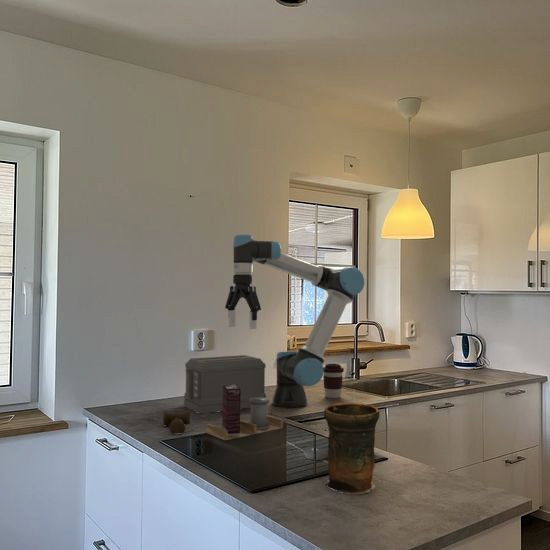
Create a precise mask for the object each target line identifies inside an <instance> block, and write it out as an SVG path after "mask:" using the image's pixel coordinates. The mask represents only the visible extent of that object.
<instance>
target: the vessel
mask: <svg viewBox="0 0 550 550" xmlns="http://www.w3.org/2000/svg"><path fill="white" fill-rule="evenodd" d="M323 412H324V413H323V417H324V419H325V422H326V424H327V427H328V431H329V432H328V438H327V439H328V441H327V442H328V443H327V444H328V445H327V446H328V447H327V458H328V480H327V481H326V483H325V486H326V487H327V485H328V487H330V488H333V489H335V490H337V491H338V492H343V493H345V494H344V495H354V496H355V495H365V494H368V493H371V491H373V490H374V489H376V488H375V487H376V486H377V485H376V484H374V482H373V474H374V470H375V466H376V465H375V443H376V426H377V423H378V422H379V419H380V410H379V408H377V407H375V406H373V405H371V404H370V405H369V404H368V405H367V404H364V403H351V402H350V403H340V402H339V403H334V404H333V403H331V404H330V405H328V406H326V407H325V409H324V410H323ZM338 492H337V493H338Z"/></svg>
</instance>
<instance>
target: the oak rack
mask: <svg viewBox="0 0 550 550" xmlns="http://www.w3.org/2000/svg"><path fill="white" fill-rule="evenodd" d="M267 424H268V425H269V429H266V430H256V424H253V423H250V422H249V421H246V420H243V419H240V436H228V430H225V429H222V427H219V426H216V425H214V424H210V423H206V434H208V435H210V436H211V437H215V438H218V439H221V440H222V441H228V440H232V439H238V438H243V437H247V436H252V435H257V434H262V433H265V432H271V431H276V430H280V429H283V428H284V419H283V418H280V417H275V416H272V415H269V414H267Z"/></svg>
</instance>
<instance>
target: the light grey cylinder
mask: <svg viewBox="0 0 550 550" xmlns="http://www.w3.org/2000/svg"><path fill="white" fill-rule="evenodd" d="M249 402H250V403H251V408H250V423H253V424H256V430H266V429H269V425H268V424H267V415H268V404H269V403H270V399H269V398H268V397H266V398H262V397H256V398H250V399H249Z"/></svg>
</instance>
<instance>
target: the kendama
mask: <svg viewBox="0 0 550 550" xmlns="http://www.w3.org/2000/svg"><path fill="white" fill-rule="evenodd" d="M190 413H191V412H190V410H189V409H187V410H185V411H183V412H180V413H179V412H178V413H176V412H175V413H173V412H171V411H169V410H167V409H164V410H163V415H162V419H163V420H162V424H163V426H164V425H167V426H169V432H170V434H172V433H182V434H184V432H185V428H186V427H185V426H187V425H190V424H191V423H190V421H191V414H190ZM184 424H185V425H184Z"/></svg>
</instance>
